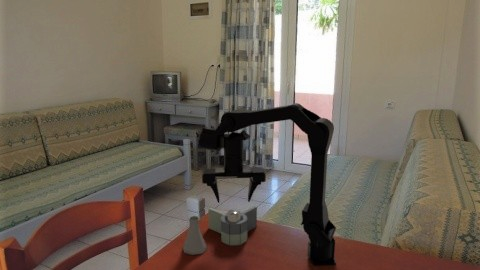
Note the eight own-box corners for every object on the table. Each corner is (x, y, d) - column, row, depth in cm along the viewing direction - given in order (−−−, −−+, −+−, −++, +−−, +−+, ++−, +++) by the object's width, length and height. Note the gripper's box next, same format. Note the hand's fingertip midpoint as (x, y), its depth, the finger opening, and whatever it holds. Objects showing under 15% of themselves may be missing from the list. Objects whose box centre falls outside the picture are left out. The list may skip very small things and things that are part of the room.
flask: (205, 255, 101) (204, 224, 99) (180, 255, 102) (179, 223, 99) (208, 242, 109) (207, 212, 106) (185, 242, 109) (183, 212, 106)
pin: (240, 235, 113) (239, 209, 111) (241, 241, 109) (240, 214, 107) (227, 235, 113) (227, 209, 111) (228, 242, 109) (227, 215, 107)
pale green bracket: (252, 237, 111) (252, 217, 110) (235, 248, 105) (235, 226, 104) (218, 223, 121) (218, 204, 119) (201, 232, 115) (200, 212, 113)
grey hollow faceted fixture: (235, 248, 105) (235, 226, 104) (216, 239, 110) (215, 218, 109) (265, 229, 116) (265, 210, 115) (246, 222, 121) (246, 203, 120)
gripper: (261, 145, 113) (260, 190, 117) (202, 146, 112) (203, 192, 115) (266, 155, 102) (265, 205, 106) (201, 156, 101) (202, 207, 104)
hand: (233, 201), depth 108 cm, fingers open, 9 cm apart
